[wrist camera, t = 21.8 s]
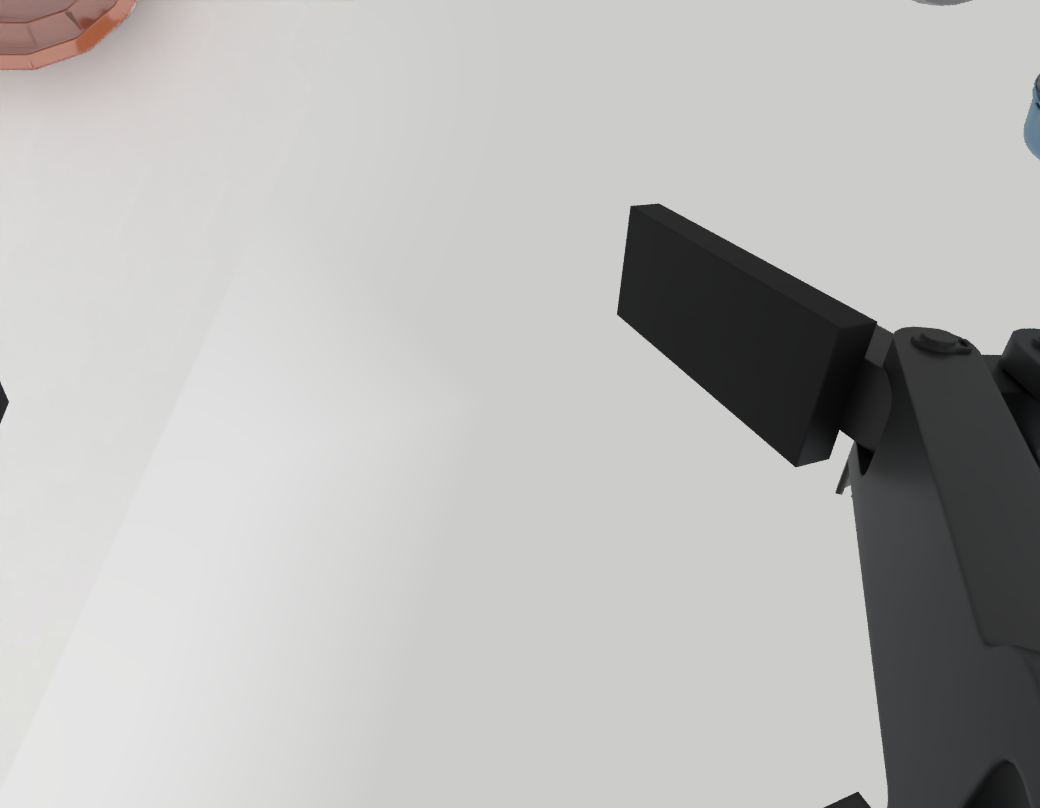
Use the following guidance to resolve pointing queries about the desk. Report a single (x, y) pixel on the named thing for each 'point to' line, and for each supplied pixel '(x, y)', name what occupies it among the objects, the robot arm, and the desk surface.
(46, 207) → the desk surface
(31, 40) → the bowl
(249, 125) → the desk surface
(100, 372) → the desk surface
